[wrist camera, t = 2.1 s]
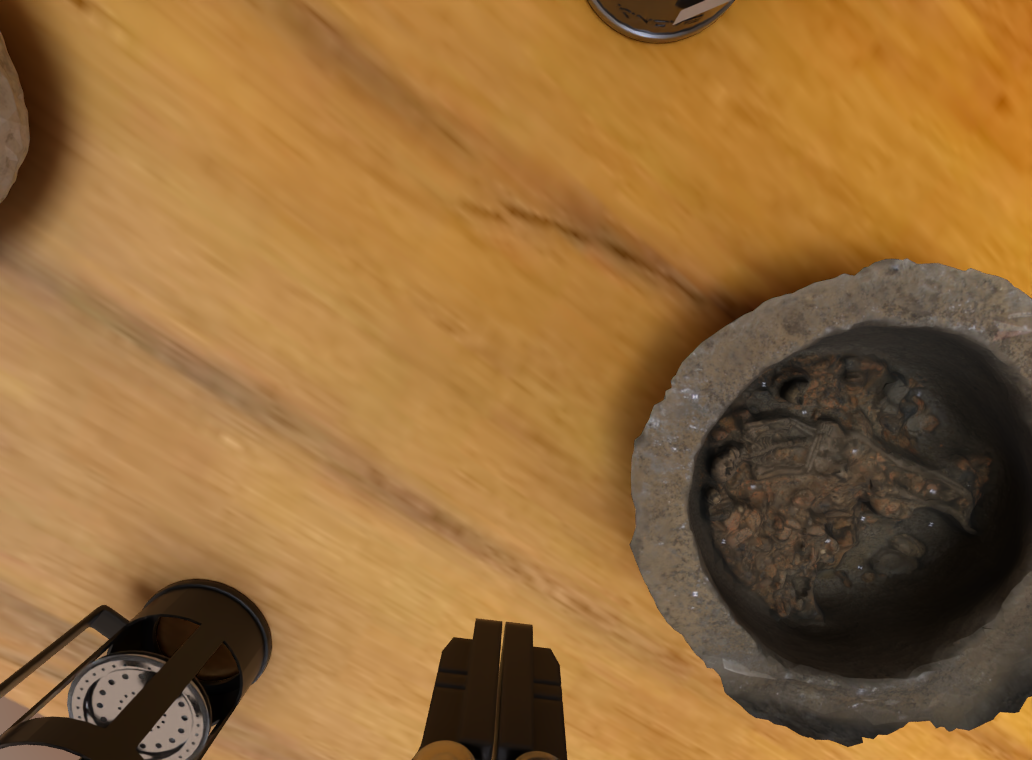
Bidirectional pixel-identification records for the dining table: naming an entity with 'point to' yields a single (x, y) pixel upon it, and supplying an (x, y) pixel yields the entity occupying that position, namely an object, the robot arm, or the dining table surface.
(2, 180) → the grey carved stone
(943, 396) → the stone bowl
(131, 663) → the french press
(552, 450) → the dining table surface
